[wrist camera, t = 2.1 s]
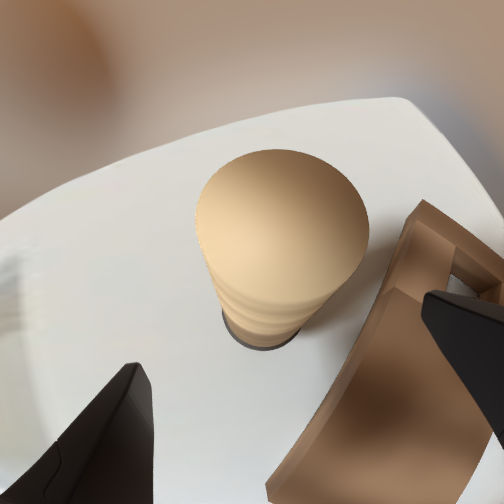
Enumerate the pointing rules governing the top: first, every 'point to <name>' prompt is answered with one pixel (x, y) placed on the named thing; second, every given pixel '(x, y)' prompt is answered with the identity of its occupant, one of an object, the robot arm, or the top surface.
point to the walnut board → (399, 388)
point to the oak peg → (278, 241)
